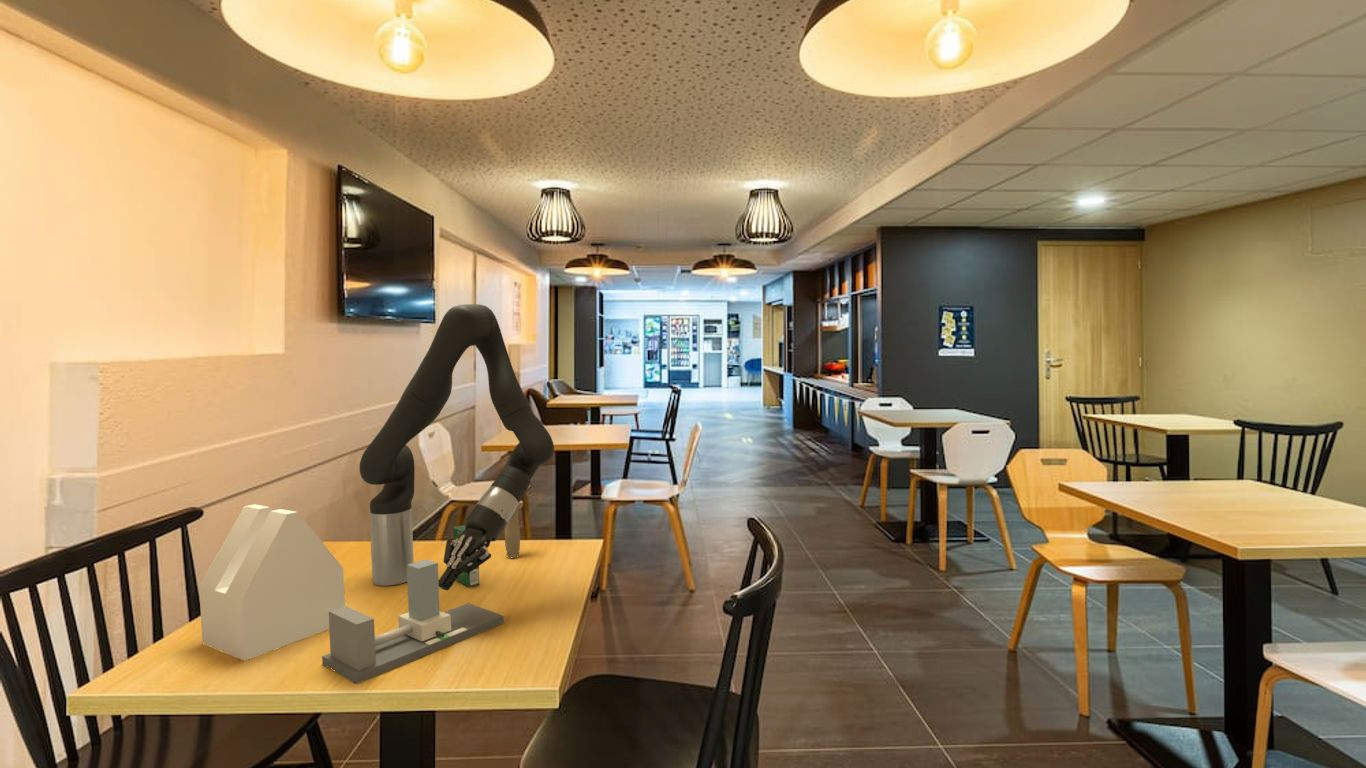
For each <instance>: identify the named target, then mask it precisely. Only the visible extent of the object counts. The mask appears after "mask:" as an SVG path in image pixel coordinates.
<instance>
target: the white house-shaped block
mask: <svg viewBox="0 0 1366 768" xmlns="http://www.w3.org/2000/svg"><path fill="white" fill-rule="evenodd" d="M215 555H216V556H215V557H214V558H213V561H212V562H211V564H210V566H209V568H208V569H207V571H206V573H205V574H204V576H203V578H202V580H201V582H200V583H199V586H198V587H199V588H198V589H199V604H200V605H199V606H200V623H201V641H202V642H201V643H204V644H206V645H208V646H207V647H209V646H211V647H212V649H213V648H215V649H214V650H216V649H218V650H221V651H223V652H225V653H224V654H226V653H227V654H226V655H228V654H230V655H229V656H231V655H232V656H231V657H233V656H235V657H234V658H236V657H237V658H236V659H238V658H240V659H239V660H241V659H242V660H241V661H243V660H244V662H247V661H249V660H248V659H250V660H252V659H251V658H253V659H255V658H257V656H258V657H261V656H262V654H263V655H265V654H264V653H266V654H268V653H270V652H269V651H271V652H273V651H275V650H274V649H276V648H278V649H280V647H281V648H283V647H282V646H284V647H286V646H289V645H291V644H293V643H292V642H294V643H296V642H295V641H297V642H299V641H302V640H304V639H306V638H309V637H312V636H314V635H315V636H316V635H317V634H319V633H322V632H325V631H327V630H329V611H331V610H334V609H337V608H341V607H344V606H346V597H345V579H344V578H345V576H344V566H343V565H341V563H340V562H339V560H338V559H337V558H336V557H335V556H334V554H332V552H331V551H330V550H329V549H328V547H327V546H326V544H324V543H323V541H322V540H321V539H320V537H319V536H318V535H317V533H316V532H315V531H314V530H313V529H312V528H311V526H310V525H309V524H308V523H307V522H306V521H305V519H304V518H303V517H302V516H301V514H300V513H299V512H298V511H293V510H290V509H289V510H288V509H283V508H278V509H275V510H273V508H271V506H265V505H262V504H255V503H254V504H248V505H245V506H243V508H242V510H241V511H240V513H239V514H238V516H237V518H236V520H235V521H234V524H233V526H232V527H231V529H230V530H229V532H228V533H227V536H226V538H225V539H224V541H223V543H222V545H221V546H220V548H219V550H218V552H217V554H215ZM303 638H304V639H303ZM301 639H302V640H301ZM298 640H299V641H298ZM290 643H291V644H290ZM204 644H203V645H204ZM288 644H289V645H288ZM206 645H205V646H206ZM285 645H286V646H285ZM211 647H210V648H211ZM218 650H217V651H218ZM272 650H273V651H272ZM276 650H277V649H276ZM221 651H220V652H221ZM223 652H222V653H223ZM267 652H268V653H267ZM254 657H255V658H254ZM246 660H247V661H246Z"/></svg>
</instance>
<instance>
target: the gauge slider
mask: <svg viewBox="0 0 1366 768" xmlns="http://www.w3.org/2000/svg"><path fill="white" fill-rule="evenodd" d="M407 581H408V582H407V598H408V599H407V601H408V604H407V605H408V612H405V613H403V614H399V615H398V617H397V618H398V628H394V629H391V630H389V631H387V632H384V633H381V634H379V635H378V634H377V635H375V646H377V645H380V644H382V643H385V642H388V641H390V640H393V639H396V638H398V637H401V636H404V635H409V636H411V637H413V638H415V639H418V640H420V641H422V642H423V641H425V640H428V639H430V638H433V637H435V636H440V637H444V633H446V632H448V631H451V615H449V614H447V613H444V612H445V611H441V609H440V608H441V607H440V587H439V562H436V561H433V560H431V559H421V560H418V561H416V562H415V561H414V563H411V564H408V565H407Z"/></svg>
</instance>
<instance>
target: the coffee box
mask: <svg viewBox="0 0 1366 768" xmlns="http://www.w3.org/2000/svg"><path fill="white" fill-rule="evenodd" d="M452 529H453V541H454V540H456V539H458V537H459V535H460V534H461V533H462V532H463V531H464V530H465V529H466V525H465V524H464V525H458V526H454V527H453V528H452ZM469 566H470V565H469ZM456 581H457V582H458V583H460V584H463V585H464V586H466V587H468V588H473V587H476V586H480V566H478V567H477V568H475V569H474V570H473V571H471V572H470V573H468V574H467V573H466V572H464V573H463V574H461V575H459V576H458V578H457V579H456Z"/></svg>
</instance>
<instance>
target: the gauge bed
mask: <svg viewBox="0 0 1366 768" xmlns="http://www.w3.org/2000/svg"><path fill="white" fill-rule="evenodd" d="M443 612H444V613H447V614H449V615H451V631H448V632H446V633H444V637H440V636H435V637H433V638H430V639H428V640H425V641H423V642H422V641H420V640H418V639H415V638H413V637H411V636H409V635H404V636H401V637H398V638H396V639H393V640H390V641H388V642H385V643H382V644H380V645H377V646H375V636H376V635H375V634H376V633H375V632H376V631H375V618H374V617H372V616H369V615H367V614H365V613H363V612H360V611H359V610H356V609H354V608H351V607H349V606H347V605H345V606H344V607H341V608H337V609H334V610H331V611H329V629H328V630H329V649H330V652H329V653H327V654H324V655H322V656H321V657H322V658H321V659H322V660H321V662H322V665H323V664H324V665H326V666H328V667H330V668H332V669H333V670H335V671H336V672H337V673H336V672H335V671H334V672H335V673H336V674H338V673H339V674H338V675H340V676H341V675H342V677H343V676H344V677H343V678H345V679H346V680H348V679H349V680H348V681H350V682H352V683H353V682H354V684H355V685H357V684H360V683H362V682H364V681H367V680H369V679H371V678H375V677H377V676H379V675H382V674H384V673H386V672H388V671H391V670H394V669H396V668H398V667H400V666H403V665H405V664H408V663H410V662H413V661H415V660H418V659H419V658H422V657H425V656H428V655H430V654H432V653H434V652H437V651H439V650H442V649H444V648H446V647H449V646H452V645H455V644H457V643H459V642H462V641H464V640H466V639H469V638H471V637H475V636H476V635H478V634H481V633H483V632H485V631H488V630H490V629H493V628H496V627H497V626H500V625H502V624H505V616H504V614H501V613H497V612H494V611H492V610H489V609H486V608H484V607H480V606H478V605H474V604H472V603H470V602H468V603H466V604H465V603H464V604H463V605H460V606H456V607H453V608H451V609H449V610H446V611H443ZM324 665H323V666H324ZM326 666H325V667H326ZM328 667H327V668H328ZM333 670H332V671H333Z"/></svg>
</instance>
